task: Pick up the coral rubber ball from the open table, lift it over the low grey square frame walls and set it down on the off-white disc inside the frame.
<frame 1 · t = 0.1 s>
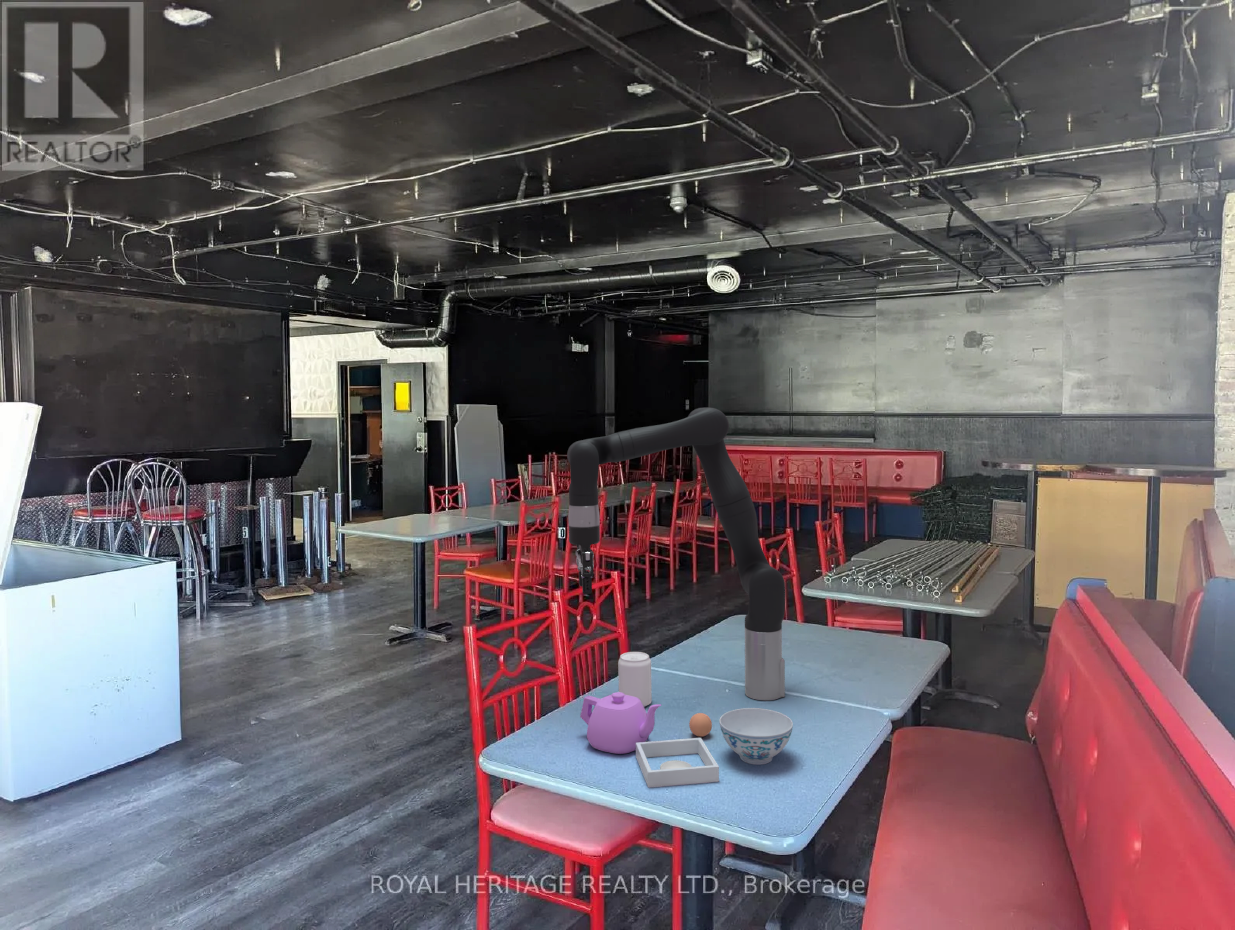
hand: (585, 589, 193), 29 cm above the table, fingers open, 8 cm apart
teapot: (621, 744, 173), on the table
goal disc: (675, 768, 161), resting in grey square frame
grey square frame: (675, 768, 161), on the table
ball: (700, 735, 177), on the table
beverage can: (635, 704, 197), on the table
chinaware: (756, 758, 165), on the table
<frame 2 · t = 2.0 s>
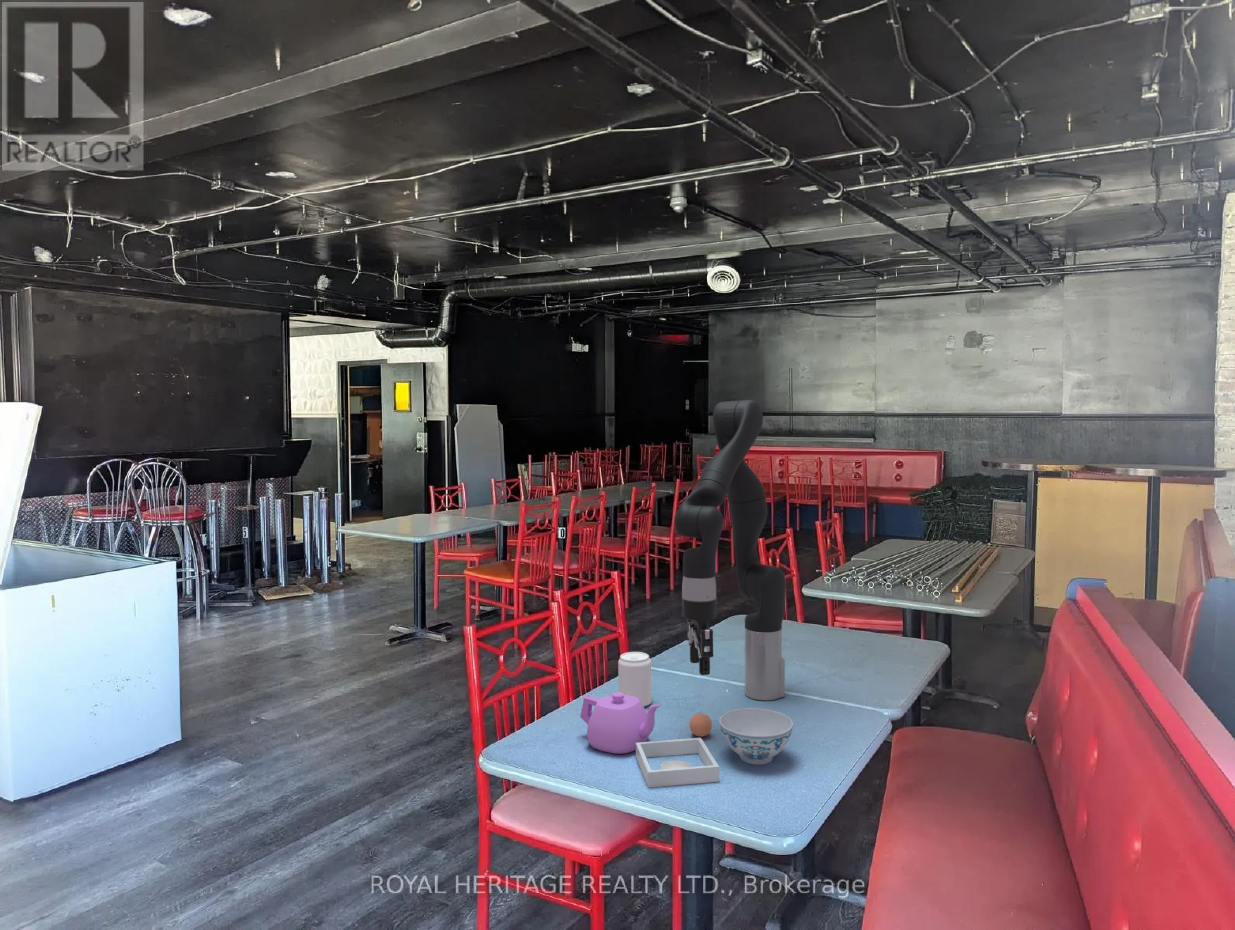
hand: (699, 668, 176), 15 cm above the table, fingers open, 8 cm apart
nothing on the table moved.
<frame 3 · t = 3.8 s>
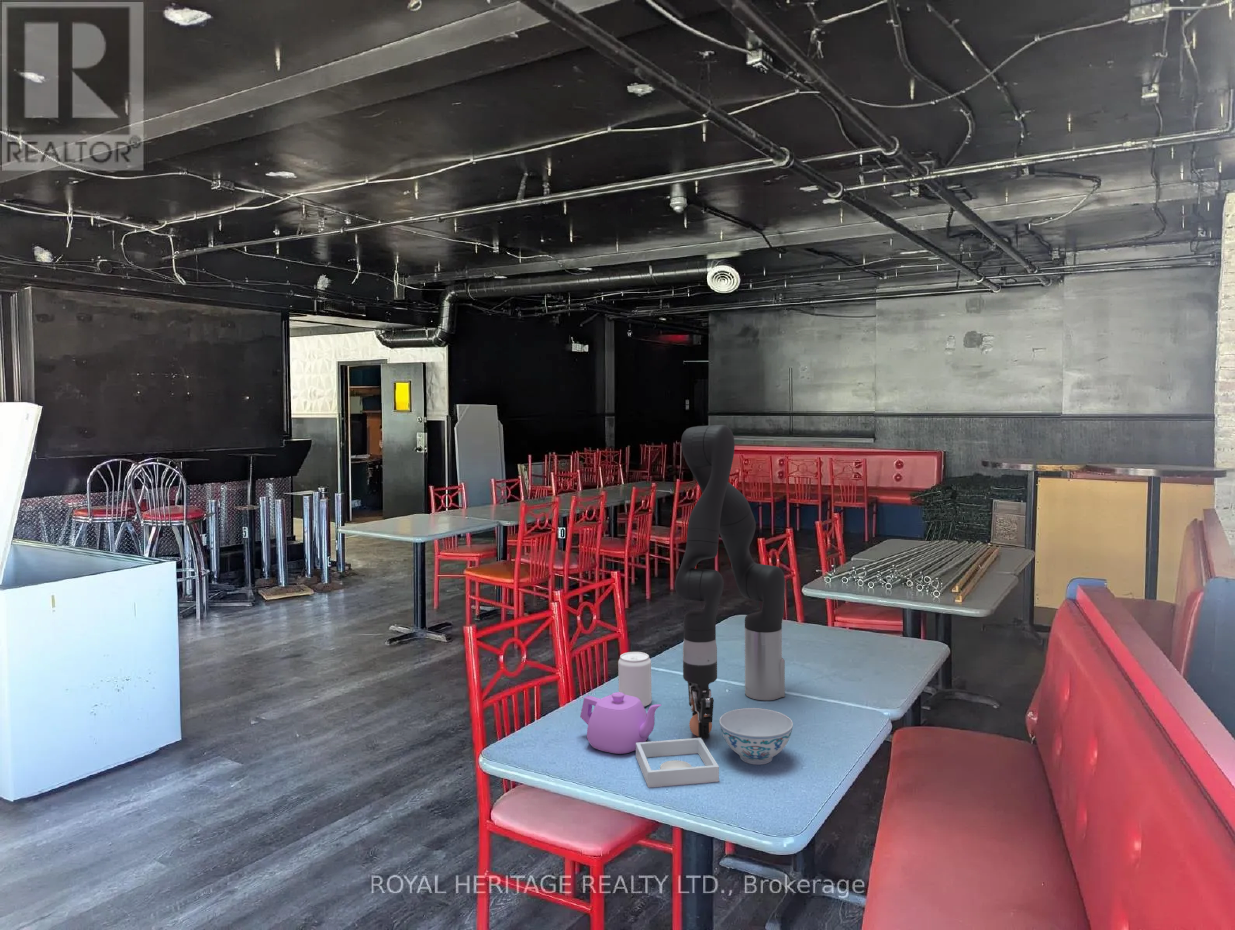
hand: (700, 732, 177), 1 cm above the table, fingers closed on ball, 5 cm apart
ball: (700, 735, 177), on the table, touching gripper
everything else where it was.
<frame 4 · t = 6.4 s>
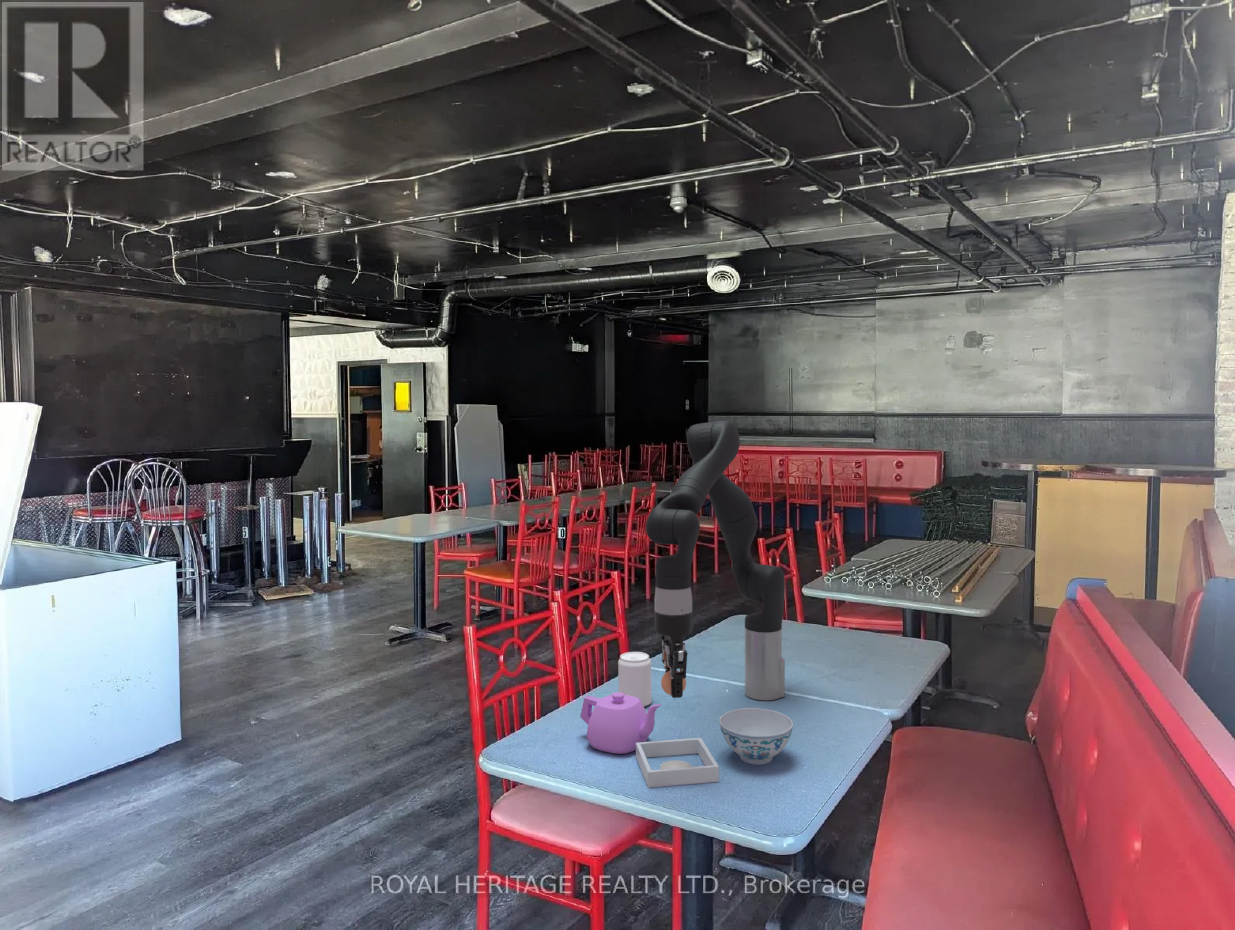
hand: (673, 691, 160), 16 cm above the table, fingers closed on ball, 5 cm apart
ball: (673, 694, 160), point 15 cm above the table, touching gripper
everything else where it was.
when the fingers open (3 cm above the table, at t = 9.2 s): ball drops 2 cm, resting on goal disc.
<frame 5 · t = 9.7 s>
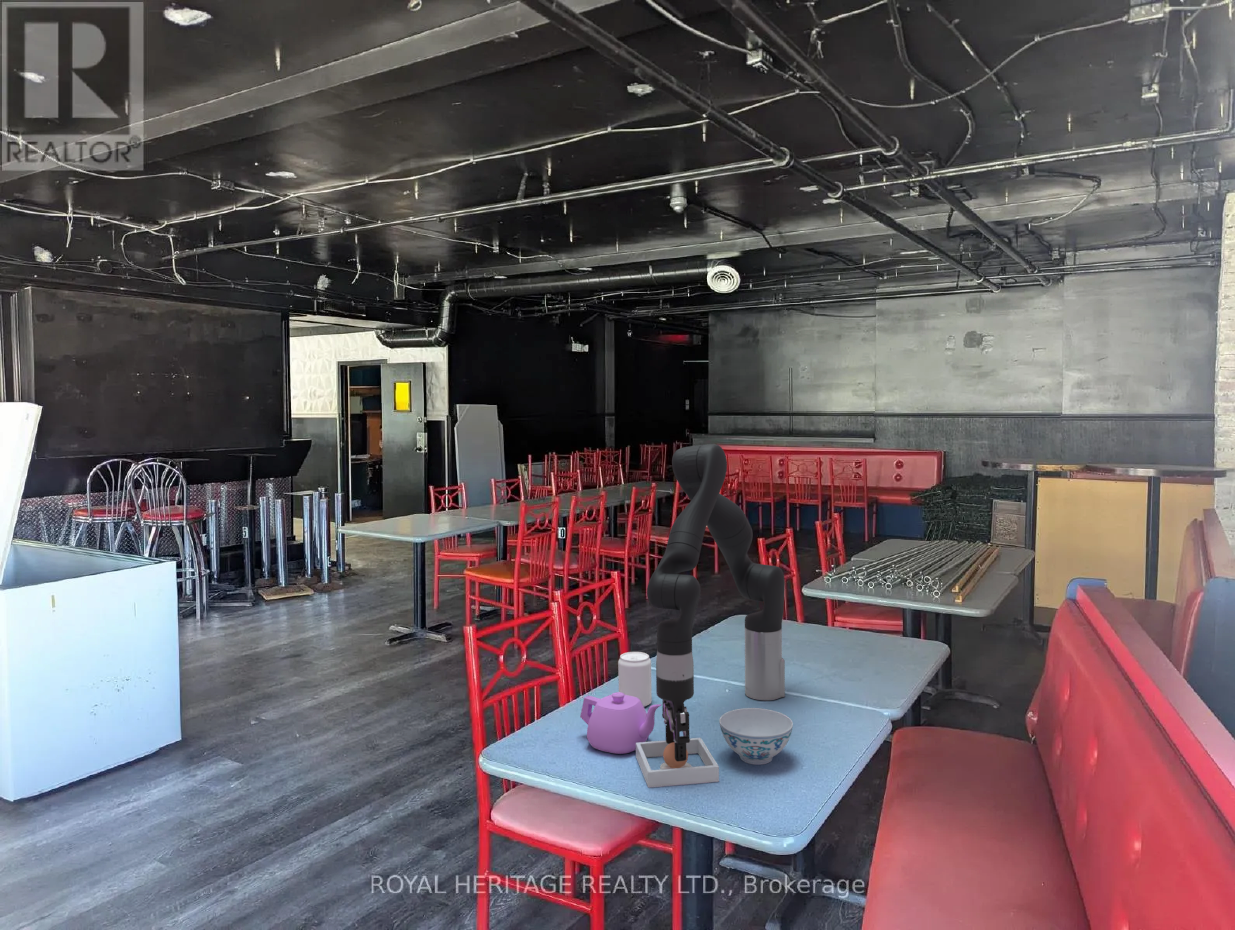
hand: (675, 751, 161), 4 cm above the table, fingers open, 8 cm apart
ball: (675, 767, 161), resting on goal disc
everything else where it was.
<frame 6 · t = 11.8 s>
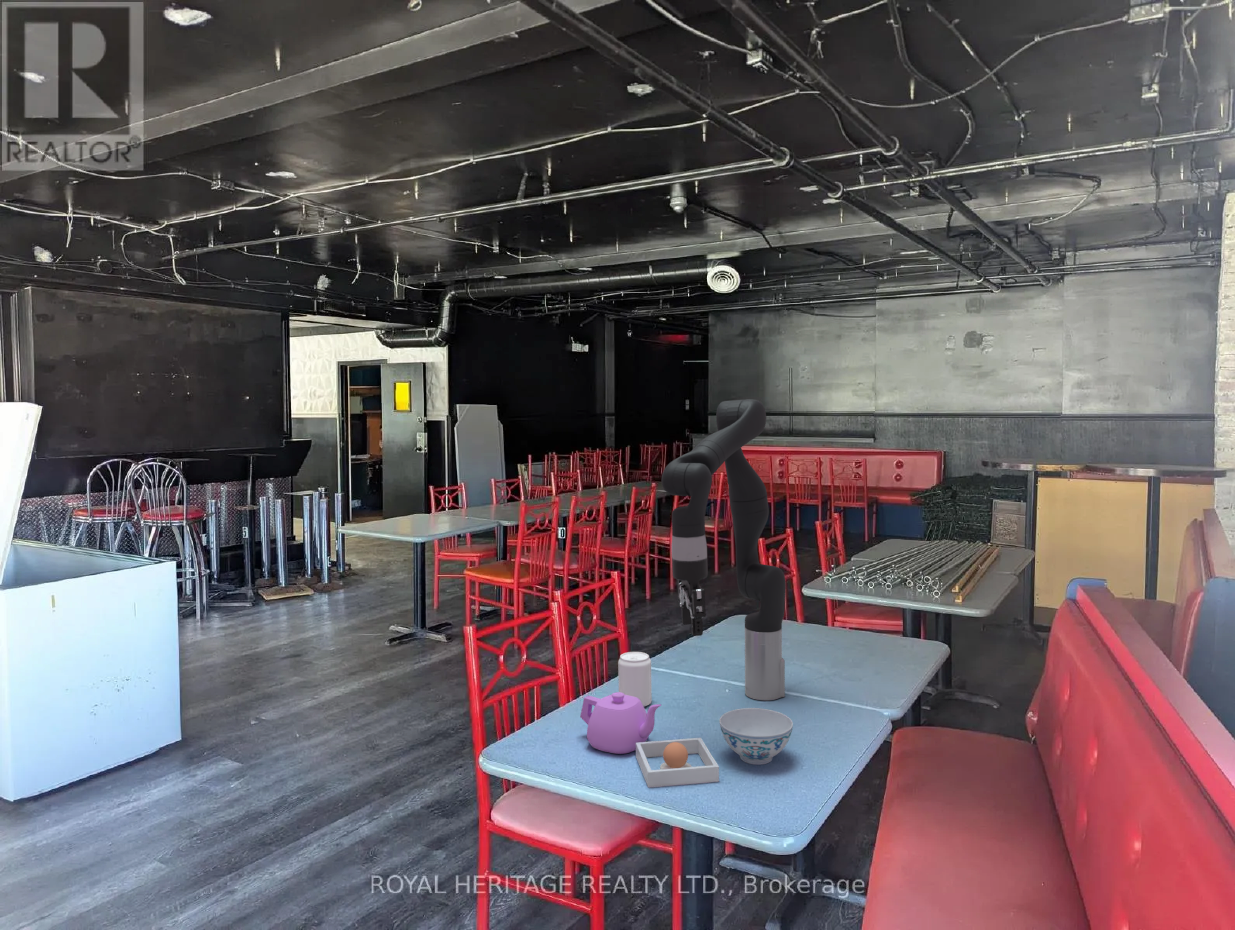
hand: (692, 629, 172), 25 cm above the table, fingers open, 8 cm apart
nothing on the table moved.
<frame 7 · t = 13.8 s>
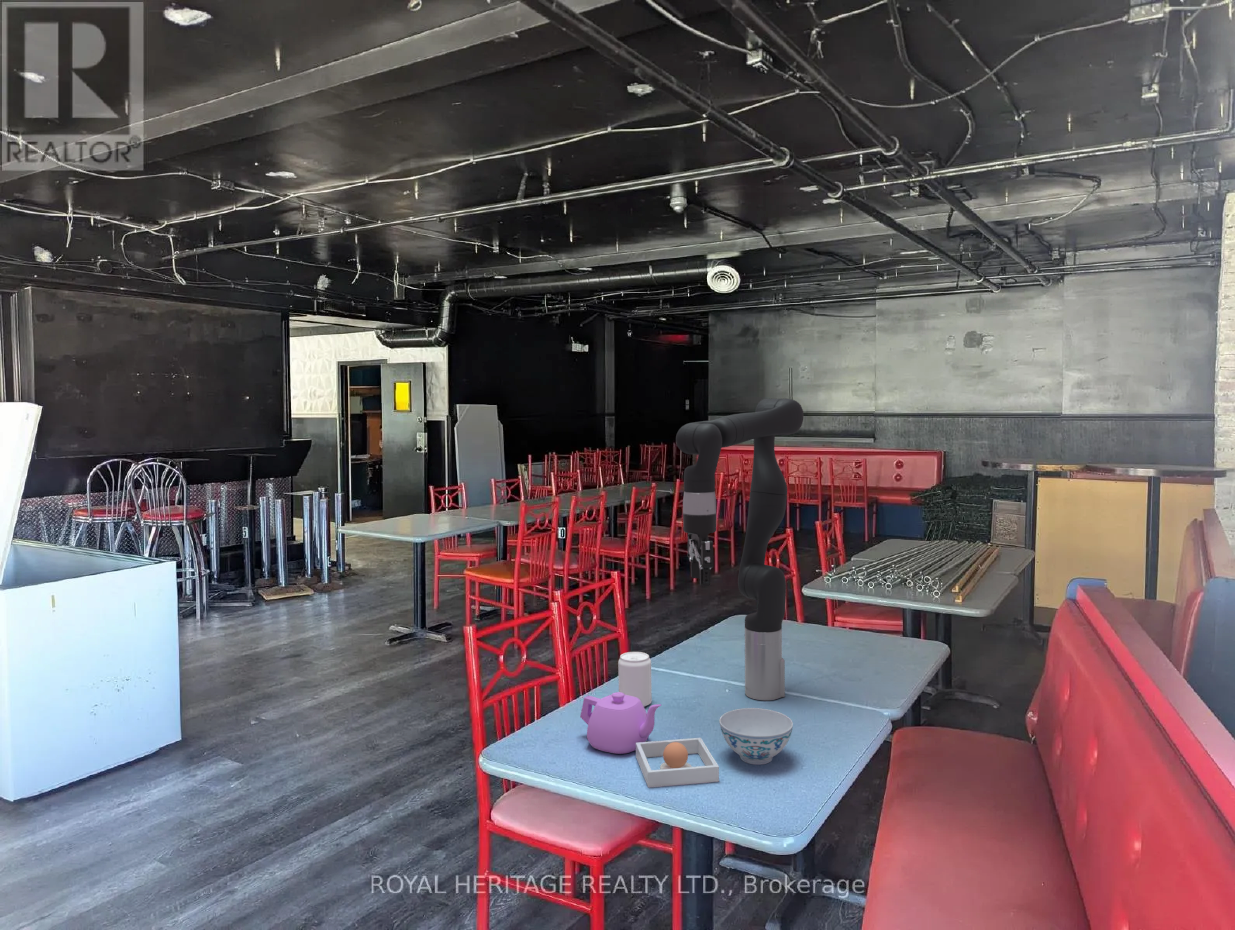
hand: (700, 581, 182), 33 cm above the table, fingers open, 8 cm apart
nothing on the table moved.
at the end: ball inside the target area on the grey square frame (0.0 cm from its centre), point 0.3 cm above the grey square frame's base; the gripper is holding nothing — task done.
